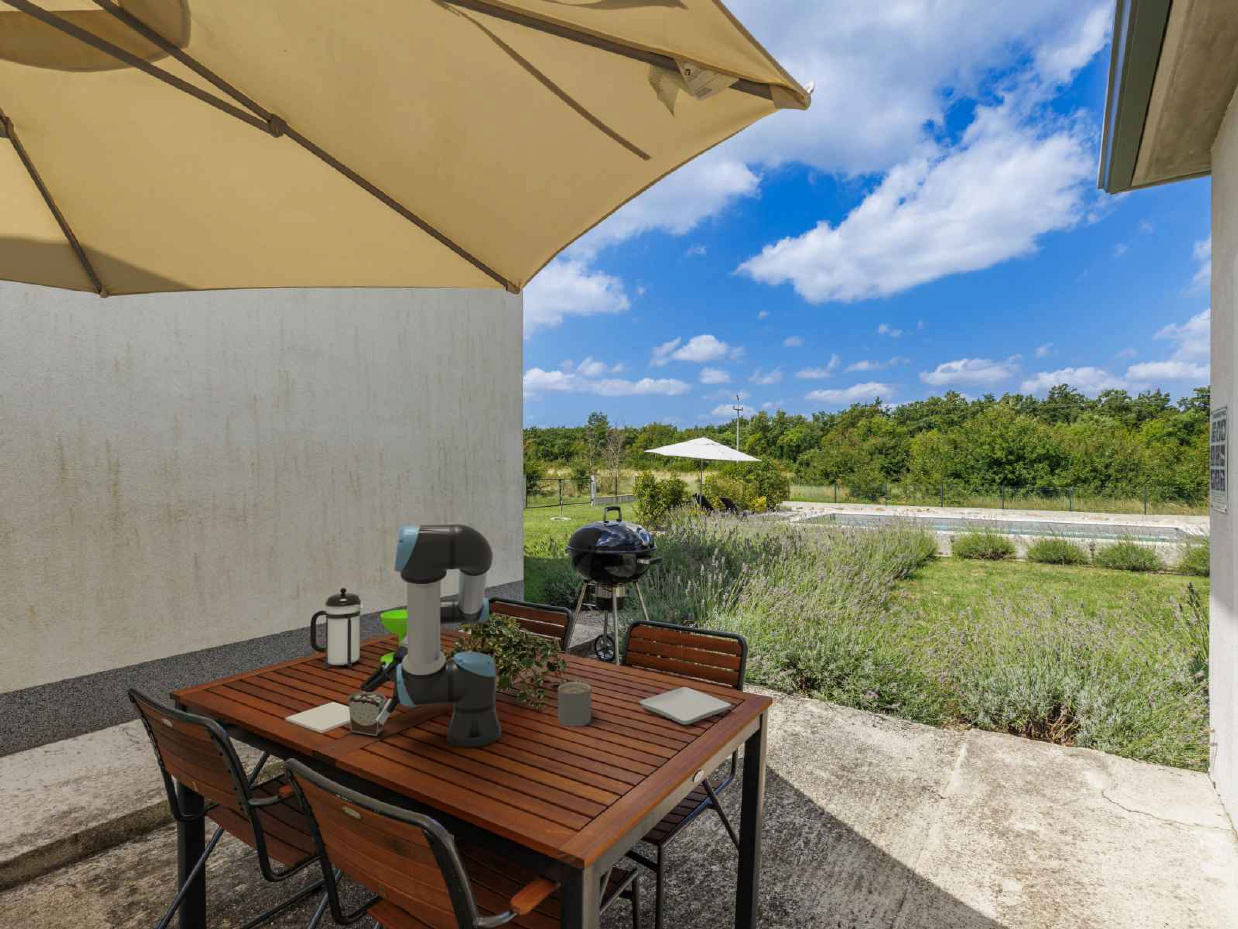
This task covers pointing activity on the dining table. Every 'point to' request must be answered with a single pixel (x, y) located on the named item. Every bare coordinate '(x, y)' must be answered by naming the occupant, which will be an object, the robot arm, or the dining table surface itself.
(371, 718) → the food container
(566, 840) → the dining table surface
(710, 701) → the salad plate
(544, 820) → the dining table surface
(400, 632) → the wineglass
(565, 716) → the grey canister
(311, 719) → the ceramic tile
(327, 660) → the coffee press
